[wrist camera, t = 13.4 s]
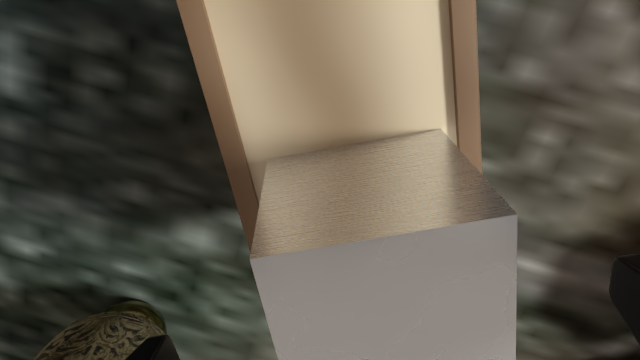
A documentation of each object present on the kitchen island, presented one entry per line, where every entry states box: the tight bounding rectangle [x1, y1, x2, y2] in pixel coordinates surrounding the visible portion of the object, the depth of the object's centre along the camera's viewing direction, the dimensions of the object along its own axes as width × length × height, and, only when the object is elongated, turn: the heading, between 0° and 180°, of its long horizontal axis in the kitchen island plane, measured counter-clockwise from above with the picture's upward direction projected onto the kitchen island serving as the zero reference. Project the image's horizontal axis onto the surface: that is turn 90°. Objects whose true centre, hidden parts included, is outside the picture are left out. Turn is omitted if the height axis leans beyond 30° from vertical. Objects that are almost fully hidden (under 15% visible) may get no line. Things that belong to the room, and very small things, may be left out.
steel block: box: [250, 129, 517, 360], centre depth 12 cm, size 5×5×5 cm
